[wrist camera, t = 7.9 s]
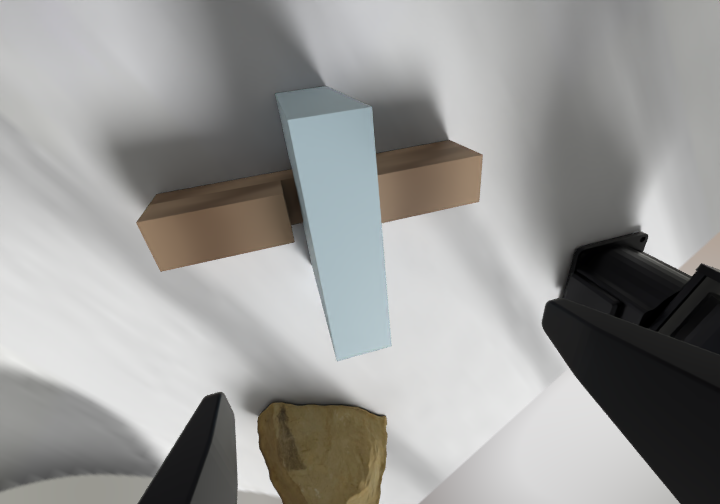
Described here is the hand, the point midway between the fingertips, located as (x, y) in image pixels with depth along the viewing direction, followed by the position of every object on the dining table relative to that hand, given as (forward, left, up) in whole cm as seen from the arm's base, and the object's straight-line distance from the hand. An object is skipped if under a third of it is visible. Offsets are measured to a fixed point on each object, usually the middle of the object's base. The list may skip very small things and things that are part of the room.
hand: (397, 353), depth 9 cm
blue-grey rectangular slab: (0, -1, -12) cm, 12 cm away
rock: (+3, +19, -13) cm, 23 cm away
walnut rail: (0, -1, -12) cm, 12 cm away
